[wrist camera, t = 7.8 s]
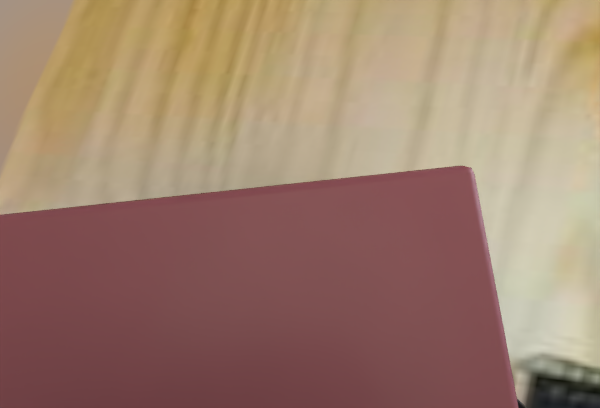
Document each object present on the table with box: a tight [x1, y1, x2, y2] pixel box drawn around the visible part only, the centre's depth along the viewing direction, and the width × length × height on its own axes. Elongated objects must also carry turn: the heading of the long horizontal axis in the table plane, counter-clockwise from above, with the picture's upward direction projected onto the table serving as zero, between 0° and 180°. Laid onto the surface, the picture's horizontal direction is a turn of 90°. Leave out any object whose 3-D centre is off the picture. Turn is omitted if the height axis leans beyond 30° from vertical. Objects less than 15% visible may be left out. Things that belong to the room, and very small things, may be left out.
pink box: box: [0, 166, 518, 408], centre depth 9 cm, size 5×5×12 cm
